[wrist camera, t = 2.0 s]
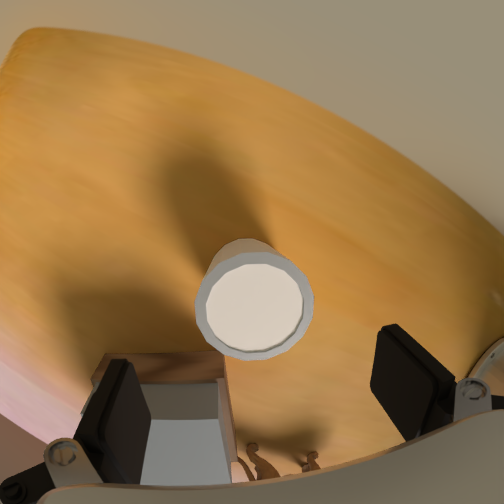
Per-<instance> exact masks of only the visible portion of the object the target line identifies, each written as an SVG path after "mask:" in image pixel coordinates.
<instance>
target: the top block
mask: <svg viewBox="0 0 504 504" xmlns="http://www.w3.org/2000/svg"><path fill="white" fill-rule="evenodd" d="M99 383H100V382H96V384H95V386H94V388H93V390H92V392H91V394H90V396H89V398H88V399H87V401H86V403H85V405H84V407H83V409H82V411H81V413H80V414H81V416H83V414H84V412H85V410H86V408H87V405H88V403H89V401H90V399H91V397H92V395H93V393H94V392H96V390H97V388H98V386H99ZM140 386H141V389H142V392H143V395H144V397H145V400H146V403H147V406H148V408H149V411H150V414H151V426H150V431H149V436H148V441H147V447H146V452H145V458H144V464H143V469H142V475H141V481H140V485H161V486H189V485H215V484H229V483H232V476H231V461H230V454H229V449H228V443H227V437H226V431H225V425H224V419H223V412H222V406H221V399H220V393H219V386H218V383H204V384H140Z"/></svg>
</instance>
